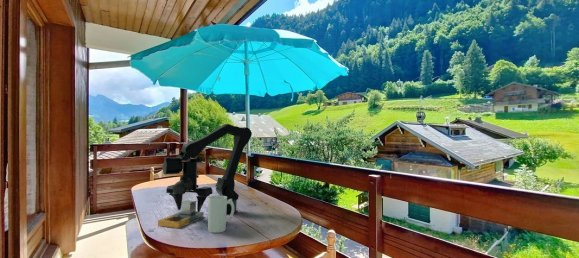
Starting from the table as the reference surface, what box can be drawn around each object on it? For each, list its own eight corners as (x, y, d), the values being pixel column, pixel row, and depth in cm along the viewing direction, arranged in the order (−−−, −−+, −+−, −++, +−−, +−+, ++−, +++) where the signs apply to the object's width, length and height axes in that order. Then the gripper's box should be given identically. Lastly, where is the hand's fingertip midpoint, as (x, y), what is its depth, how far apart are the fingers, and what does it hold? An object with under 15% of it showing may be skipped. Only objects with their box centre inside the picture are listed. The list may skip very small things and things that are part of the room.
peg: (195, 217, 130) (196, 200, 130) (190, 220, 126) (190, 202, 127) (187, 216, 131) (187, 200, 132) (181, 219, 128) (181, 202, 128)
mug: (210, 234, 109) (211, 200, 109) (204, 229, 115) (205, 196, 115) (237, 230, 115) (238, 197, 115) (230, 225, 120) (231, 194, 120)
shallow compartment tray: (203, 216, 132) (203, 212, 132) (178, 228, 115) (178, 222, 115) (185, 214, 134) (185, 210, 134) (157, 225, 118) (158, 220, 118)
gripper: (157, 174, 124) (156, 213, 124) (198, 176, 119) (197, 217, 119) (175, 171, 135) (174, 207, 135) (213, 173, 130) (212, 211, 129)
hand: (188, 210), depth 129 cm, fingers open, 9 cm apart
